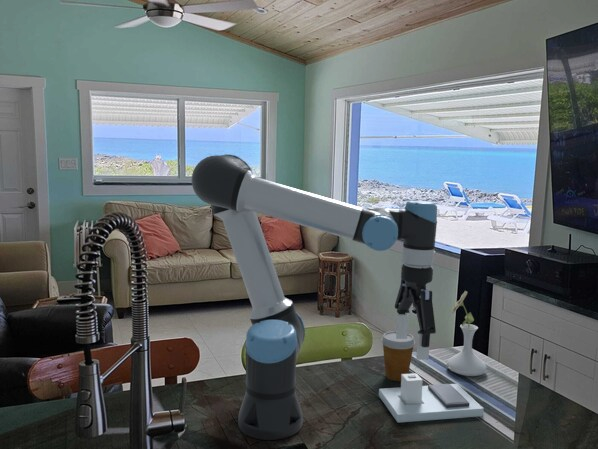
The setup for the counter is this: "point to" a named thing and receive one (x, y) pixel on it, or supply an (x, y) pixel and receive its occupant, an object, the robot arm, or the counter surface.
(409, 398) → the block
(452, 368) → the flower in vase
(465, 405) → the phone
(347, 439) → the counter surface
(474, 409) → the outlet board
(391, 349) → the disposable coffee cup
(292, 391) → the robot arm
